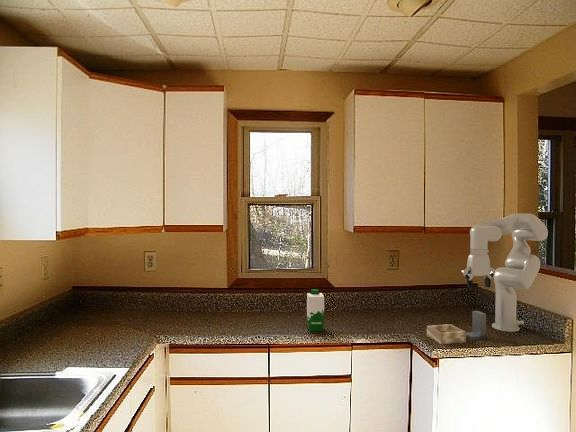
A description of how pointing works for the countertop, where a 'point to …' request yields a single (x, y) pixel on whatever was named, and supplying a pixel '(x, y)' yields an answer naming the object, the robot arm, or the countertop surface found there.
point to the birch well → (446, 334)
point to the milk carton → (315, 310)
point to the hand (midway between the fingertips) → (478, 287)
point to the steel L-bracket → (477, 326)
